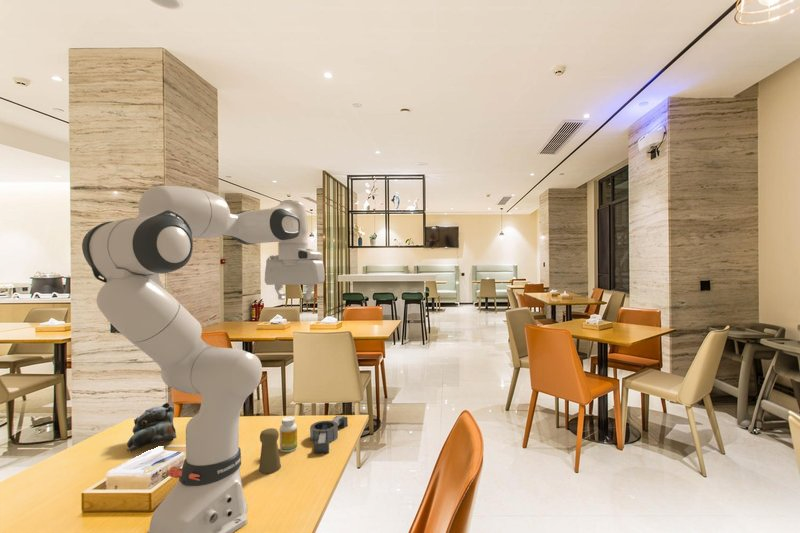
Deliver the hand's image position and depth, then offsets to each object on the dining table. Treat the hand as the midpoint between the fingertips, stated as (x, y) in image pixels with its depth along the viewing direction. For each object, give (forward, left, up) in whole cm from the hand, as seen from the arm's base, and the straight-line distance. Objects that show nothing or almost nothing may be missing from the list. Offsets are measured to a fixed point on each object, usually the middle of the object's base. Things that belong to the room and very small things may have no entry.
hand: (294, 299), depth 119 cm
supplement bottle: (+3, +6, -48) cm, 49 cm away
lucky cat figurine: (-10, +52, -48) cm, 72 cm away
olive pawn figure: (-9, +3, -48) cm, 49 cm away
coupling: (+15, -2, -48) cm, 50 cm away
